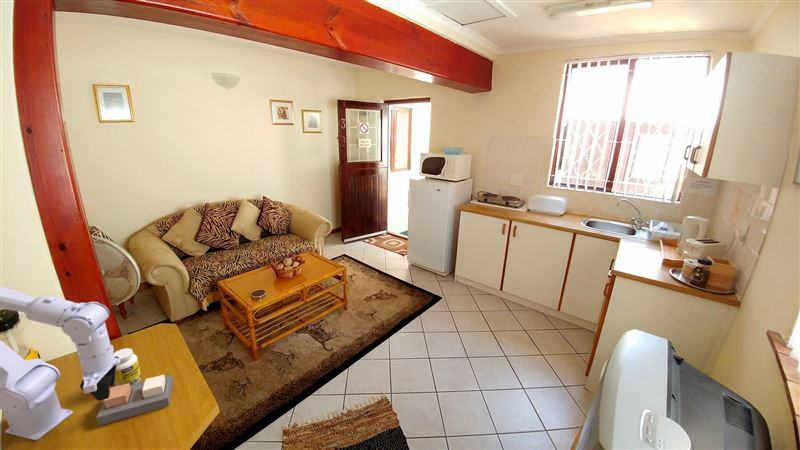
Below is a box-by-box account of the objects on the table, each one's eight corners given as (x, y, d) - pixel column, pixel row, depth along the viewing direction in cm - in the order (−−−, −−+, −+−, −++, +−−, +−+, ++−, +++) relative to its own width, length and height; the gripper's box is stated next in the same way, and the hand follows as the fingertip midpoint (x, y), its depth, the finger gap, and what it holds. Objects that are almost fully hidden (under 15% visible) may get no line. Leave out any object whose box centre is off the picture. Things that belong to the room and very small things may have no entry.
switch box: (99, 425, 80) (96, 417, 79) (109, 398, 88) (107, 390, 87) (169, 405, 88) (167, 397, 87) (173, 382, 95) (171, 374, 94)
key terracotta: (106, 409, 82) (103, 400, 81) (111, 396, 86) (108, 388, 85) (127, 403, 84) (125, 395, 83) (131, 391, 88) (129, 383, 87)
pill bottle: (126, 393, 90) (119, 363, 86) (109, 387, 91) (101, 358, 87) (146, 377, 96) (141, 348, 92) (130, 372, 97) (124, 344, 93)
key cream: (144, 399, 86) (142, 390, 85) (147, 387, 89) (145, 379, 88) (163, 394, 88) (161, 385, 87) (165, 382, 92) (164, 374, 91)
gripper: (107, 366, 71) (118, 409, 76) (124, 328, 83) (132, 367, 87) (65, 375, 68) (79, 419, 72) (88, 334, 80) (99, 375, 84)
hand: (106, 391), depth 80 cm, fingers open, 4 cm apart
